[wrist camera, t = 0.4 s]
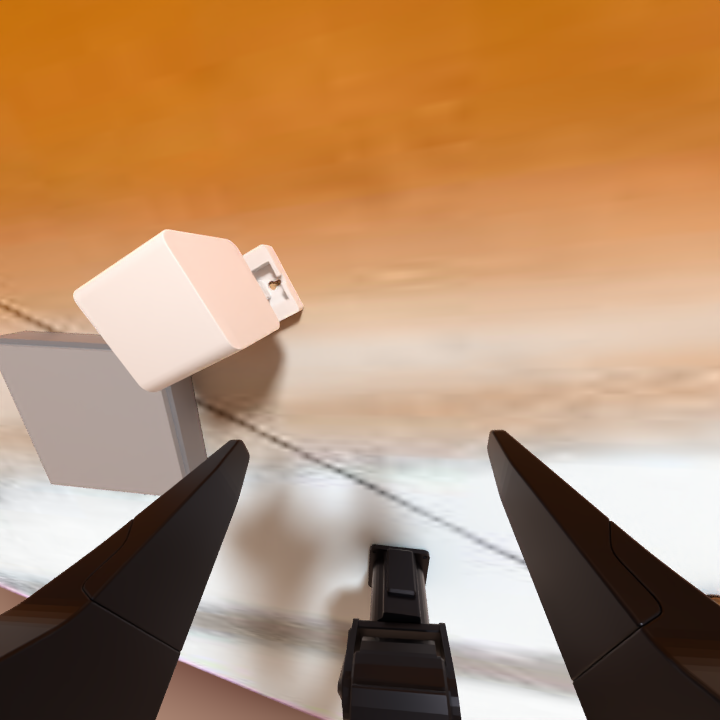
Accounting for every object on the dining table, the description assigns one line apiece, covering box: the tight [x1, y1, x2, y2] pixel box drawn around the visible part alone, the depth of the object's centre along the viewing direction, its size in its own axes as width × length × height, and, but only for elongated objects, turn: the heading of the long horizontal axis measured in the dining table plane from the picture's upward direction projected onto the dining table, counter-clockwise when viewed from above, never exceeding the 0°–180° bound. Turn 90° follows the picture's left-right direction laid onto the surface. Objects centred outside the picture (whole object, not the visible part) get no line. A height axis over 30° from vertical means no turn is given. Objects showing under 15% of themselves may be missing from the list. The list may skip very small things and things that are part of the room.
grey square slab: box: [0, 331, 207, 496], centre depth 26 cm, size 16×16×3 cm
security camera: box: [73, 230, 304, 392], centre depth 18 cm, size 6×7×10 cm
